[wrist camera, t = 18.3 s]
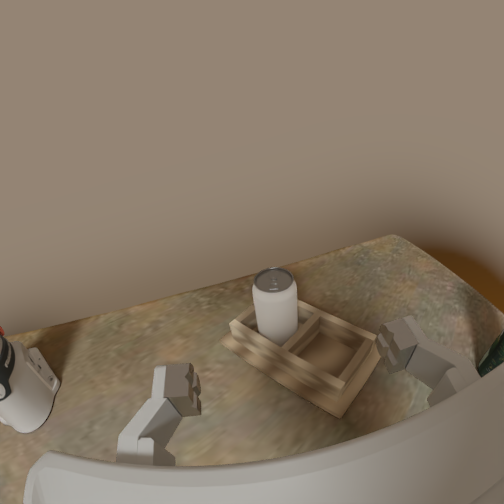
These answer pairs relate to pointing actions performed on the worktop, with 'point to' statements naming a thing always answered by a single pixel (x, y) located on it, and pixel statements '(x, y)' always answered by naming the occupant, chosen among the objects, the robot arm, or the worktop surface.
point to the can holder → (310, 356)
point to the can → (276, 304)
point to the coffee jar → (492, 356)
